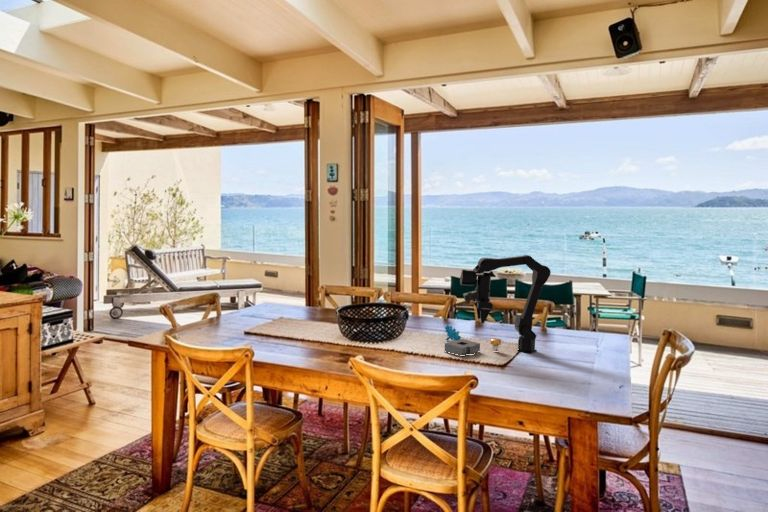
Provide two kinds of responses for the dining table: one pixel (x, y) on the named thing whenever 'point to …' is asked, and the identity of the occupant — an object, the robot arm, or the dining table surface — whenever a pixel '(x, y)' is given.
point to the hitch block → (462, 347)
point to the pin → (495, 343)
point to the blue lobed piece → (452, 333)
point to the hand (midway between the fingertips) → (480, 320)
